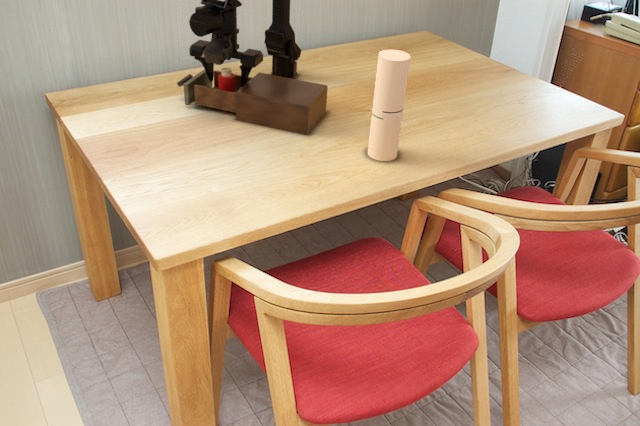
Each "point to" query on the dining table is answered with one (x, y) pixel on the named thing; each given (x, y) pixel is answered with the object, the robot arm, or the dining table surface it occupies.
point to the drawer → (209, 91)
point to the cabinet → (281, 103)
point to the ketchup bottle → (226, 80)
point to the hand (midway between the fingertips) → (226, 84)
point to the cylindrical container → (388, 104)
